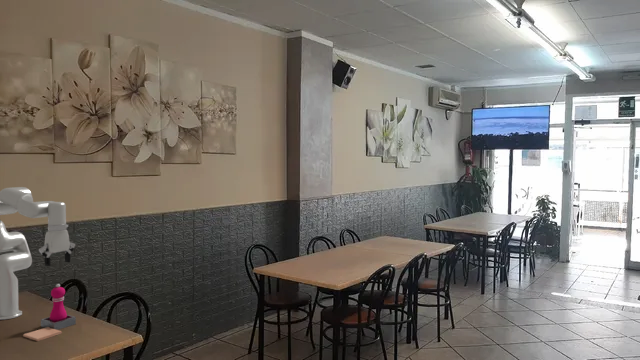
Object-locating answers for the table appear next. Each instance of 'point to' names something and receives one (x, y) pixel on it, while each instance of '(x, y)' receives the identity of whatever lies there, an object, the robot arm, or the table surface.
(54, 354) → the table surface
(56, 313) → the pepper mill
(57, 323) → the holder sleeve
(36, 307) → the table surface
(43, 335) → the plate
